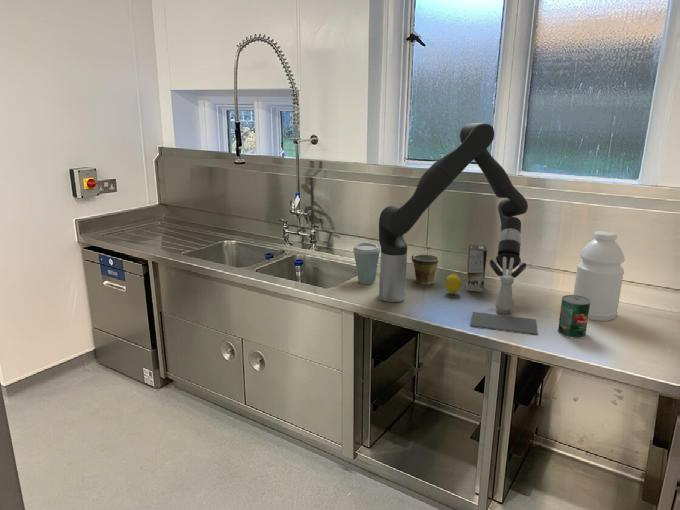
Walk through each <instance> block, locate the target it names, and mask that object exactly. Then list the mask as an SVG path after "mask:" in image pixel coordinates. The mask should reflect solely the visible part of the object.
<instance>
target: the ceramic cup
mask: <svg viewBox="0 0 680 510" xmlns="http://www.w3.org/2000/svg"><path fill="white" fill-rule="evenodd" d="M411 261H412V263H413V267H414V274H415V281H416V283H418V284H420V285H426V286H427V285H431V284H433V282H434V278H435V274H436V270H437V267H438V265H439V257H438V256H436V255H433V254H424V253H423V254H415V255H412V256H411Z"/></svg>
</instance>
